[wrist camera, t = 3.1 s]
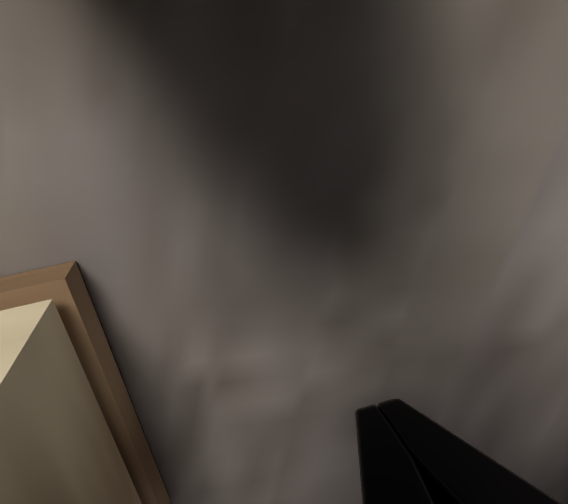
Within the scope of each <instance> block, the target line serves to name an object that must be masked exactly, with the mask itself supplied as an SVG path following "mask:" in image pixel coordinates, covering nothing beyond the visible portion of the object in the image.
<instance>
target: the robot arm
mask: <svg viewBox="0 0 568 504" xmlns="http://www.w3.org/2000/svg"><path fill="white" fill-rule="evenodd" d="M355 416H356V429H357V441H358V453H359V465H360V477H361V490H362V502H363V504H561V503H559V502H558V501H556V500H555V499H553V498H551V497H550V496H548V495H547V494H545V493H544V492H542V491H541V490H539V489H538V488H536V487H534V486H533V485H531V484H530V483H528V482H527V481H525V480H524V479H522V478H521V477H519V476H517V475H516V474H514V473H513V472H511V471H510V470H508V469H507V468H505V467H504V466H502V465H501V464H499V463H497V462H496V461H494V460H493V459H491V458H490V457H488V456H487V455H485V454H484V453H482V452H480V451H479V450H477V449H476V448H474V447H473V446H471V445H470V444H468V443H467V442H465V441H463V440H462V439H460V438H459V437H457V436H456V435H454V434H453V433H451V432H450V431H448V430H446V429H445V428H443V427H442V426H440V425H439V424H437V423H436V422H434V421H433V420H431V419H430V418H428V417H426V416H425V415H423V414H422V413H420V412H419V411H417V410H416V409H414V408H413V407H411V406H409V405H408V404H406V403H405V402H403V401H402V400H400V399H391V400H388V401H384V402H381V403H379V404H378V405H377V406H376V405H370V406H367V407H363V408H359V409H357V410H356V412H355Z"/></svg>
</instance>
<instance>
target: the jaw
mask: <svg viewBox="0 0 568 504" xmlns="http://www.w3.org/2000/svg"><path fill="white" fill-rule="evenodd" d="M0 504H142V503H141V500H140V498H139V496H138V494H137V491H136V489H135V487H134V484H133V482H132V480H131V478H130V475H129V473H128V471H127V468H126V466H125V464H124V462H123V459H122V457H121V455H120V452H119V450H118V448H117V445H116V443H115V441H114V439H113V436H112V434H111V432H110V429H109V427H108V425H107V423H106V420H105V418H104V416H103V413H102V411H101V409H100V407H99V404H98V402H97V400H96V397H95V395H94V393H93V391H92V388H91V386H90V384H89V381H88V379H87V377H86V375H85V372H84V370H83V368H82V365H81V363H80V361H79V359H78V356H77V354H76V352H75V349H74V347H73V345H72V343H71V340H70V338H69V336H68V333H67V331H66V329H65V327H64V324H63V322H62V320H61V317H60V315H59V313H58V310H57V308H56V306H55V304H54V301H53V299H49V300H45V301H41V302H36V303H32V304H28V305H23V306H19V307H15V308H10V309H6V310H2V311H0Z"/></svg>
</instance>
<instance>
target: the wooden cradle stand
mask: <svg viewBox="0 0 568 504" xmlns="http://www.w3.org/2000/svg"><path fill="white" fill-rule="evenodd" d="M49 299H53V301H54V304H55V306H56V308H57V310H58V313H59V315H60V317H61V320H62V322H63V324H64V327H65V329H66V331H67V333H68V336H69V338H70V340H71V343H72V345H73V347H74V349H75V352H76V354H77V356H78V359H79V361H80V363H81V365H82V368H83V370H84V372H85V375H86V377H87V379H88V381H89V384H90V386H91V388H92V391H93V393H94V395H95V397H96V400H97V402H98V404H99V407H100V409H101V411H102V413H103V416H104V418H105V420H106V423H107V425H108V427H109V429H110V432H111V434H112V436H113V439H114V441H115V443H116V445H117V448H118V450H119V452H120V455H121V457H122V459H123V462H124V464H125V466H126V468H127V471H128V473H129V475H130V478H131V480H132V482H133V484H134V487H135V489H136V491H137V494H138V496H139V498H140V500H141V503H142V504H171V501H170V499H169V496H168V494H167V491H166V488H165V486H164V483H163V481H162V478H161V476H160V473H159V471H158V468H157V466H156V463H155V461H154V458H153V456H152V453H151V451H150V448H149V446H148V443H147V440H146V438H145V435H144V433H143V430H142V428H141V425H140V423H139V420H138V418H137V415H136V413H135V410H134V408H133V405H132V403H131V400H130V397H129V395H128V392H127V390H126V387H125V385H124V382H123V380H122V377H121V375H120V372H119V370H118V367H117V365H116V362H115V360H114V357H113V355H112V352H111V349H110V347H109V344H108V342H107V339H106V337H105V334H104V332H103V329H102V327H101V324H100V322H99V319H98V317H97V314H96V312H95V309H94V306H93V304H92V301H91V299H90V296H89V294H88V291H87V289H86V286H85V284H84V281H83V279H82V276H81V274H80V271H79V269H78V266H77V264H76V261H72V262H68V263H63V264H59V265H54V266H50V267H45V268H41V269H36V270H32V271H27V272H23V273H18V274H14V275H9V276H5V277H0V311H2V310H6V309H10V308H15V307H19V306H23V305H28V304H32V303H36V302H41V301H45V300H49Z"/></svg>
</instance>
